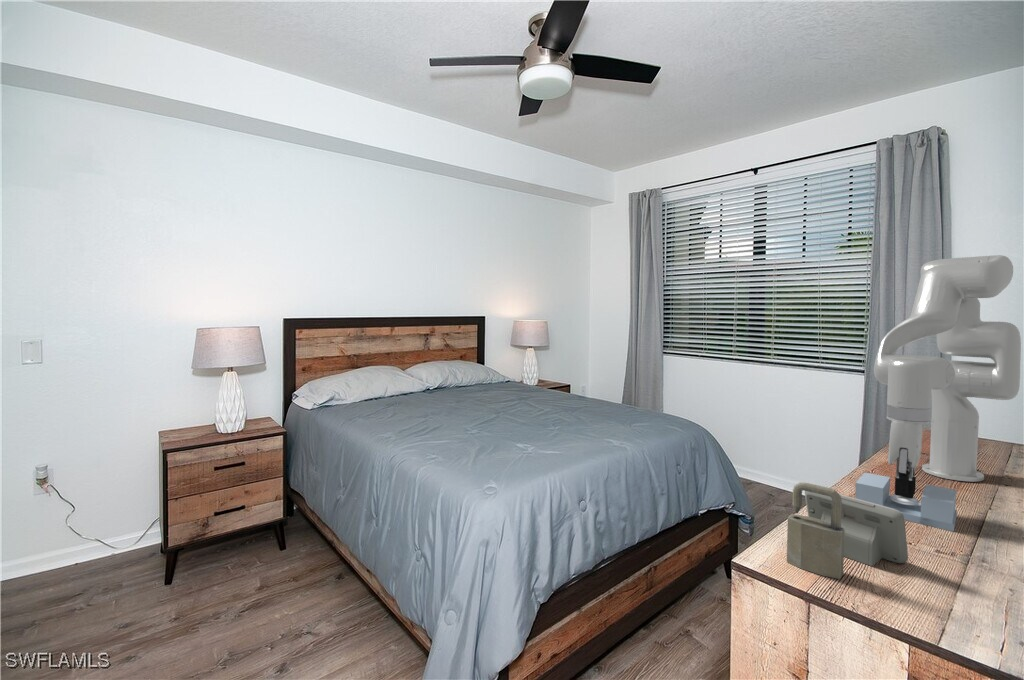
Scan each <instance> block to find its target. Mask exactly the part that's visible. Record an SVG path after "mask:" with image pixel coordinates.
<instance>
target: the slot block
mask: <svg viewBox="0 0 1024 680" xmlns="http://www.w3.org/2000/svg"><path fill="white" fill-rule="evenodd" d="M890 486H891V477H889V476H885V475H880V474H876V473H869V472H863V473H862V475H861V476H860V477H859V478H858V480H856V482H855V492H854V493H855V497H854V498H856V499H860V500H864V501H867V502H871V503H875V504H879V505H882V506H886V507H889V508H893V509H896V510H898V511H900V512H901V513H902V514H903V516H904V520H905V521H907V522H911V523H917V524H920V525H923V526H928V527H933V528H937V529H942V530H944V531H950V532H953V533H954V531H955V526H956V522H957V516H958V514H957V513H958V511H957V509H956V503H957V502H956V501H957V489H953V488H947V487H943V486H937V485H934V484H933V485H932V484H928V483H926V484H925V486H924V489H923V491H922V494H921V497H920V499H921V500H920V501H918V503H919V504H918V505H905V504H901V503H897V502H895V501H893V500H891V499H890V498H891V495H890V491H891V490H890V489H891V487H890Z"/></svg>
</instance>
